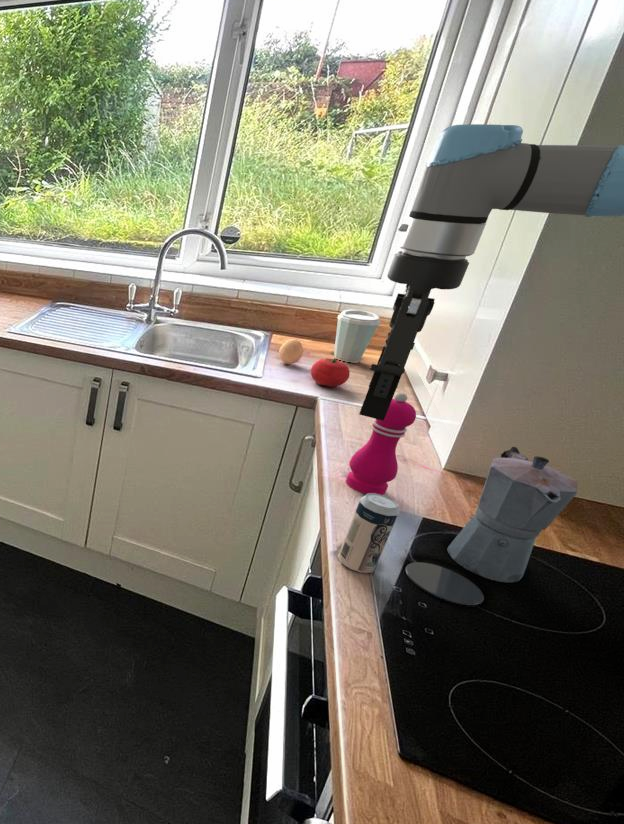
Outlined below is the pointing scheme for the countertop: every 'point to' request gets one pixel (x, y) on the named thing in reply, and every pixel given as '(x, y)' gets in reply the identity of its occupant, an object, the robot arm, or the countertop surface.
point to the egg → (291, 351)
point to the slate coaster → (444, 583)
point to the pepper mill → (381, 449)
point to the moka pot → (511, 516)
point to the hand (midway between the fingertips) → (375, 402)
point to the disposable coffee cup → (354, 334)
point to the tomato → (330, 372)
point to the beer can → (368, 532)
